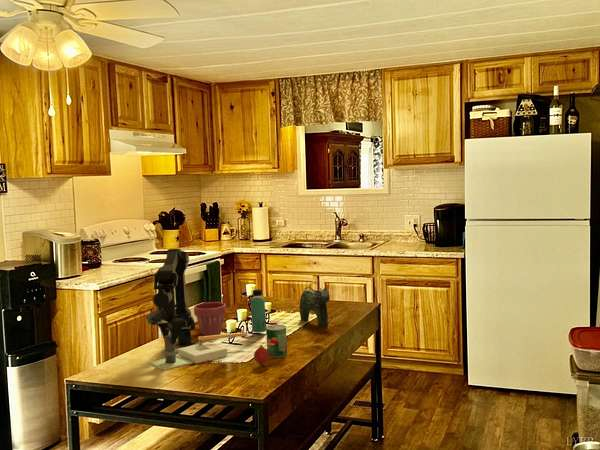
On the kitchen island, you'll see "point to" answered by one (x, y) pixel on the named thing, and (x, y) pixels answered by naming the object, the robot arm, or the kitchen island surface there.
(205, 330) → the plant pot
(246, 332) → the lever
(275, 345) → the canned tomato
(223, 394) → the kitchen island surface
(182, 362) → the pale green mat
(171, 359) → the plug
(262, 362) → the onion
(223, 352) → the socket block
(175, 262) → the robot arm
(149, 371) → the kitchen island surface
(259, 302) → the beverage bottle
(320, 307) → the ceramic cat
